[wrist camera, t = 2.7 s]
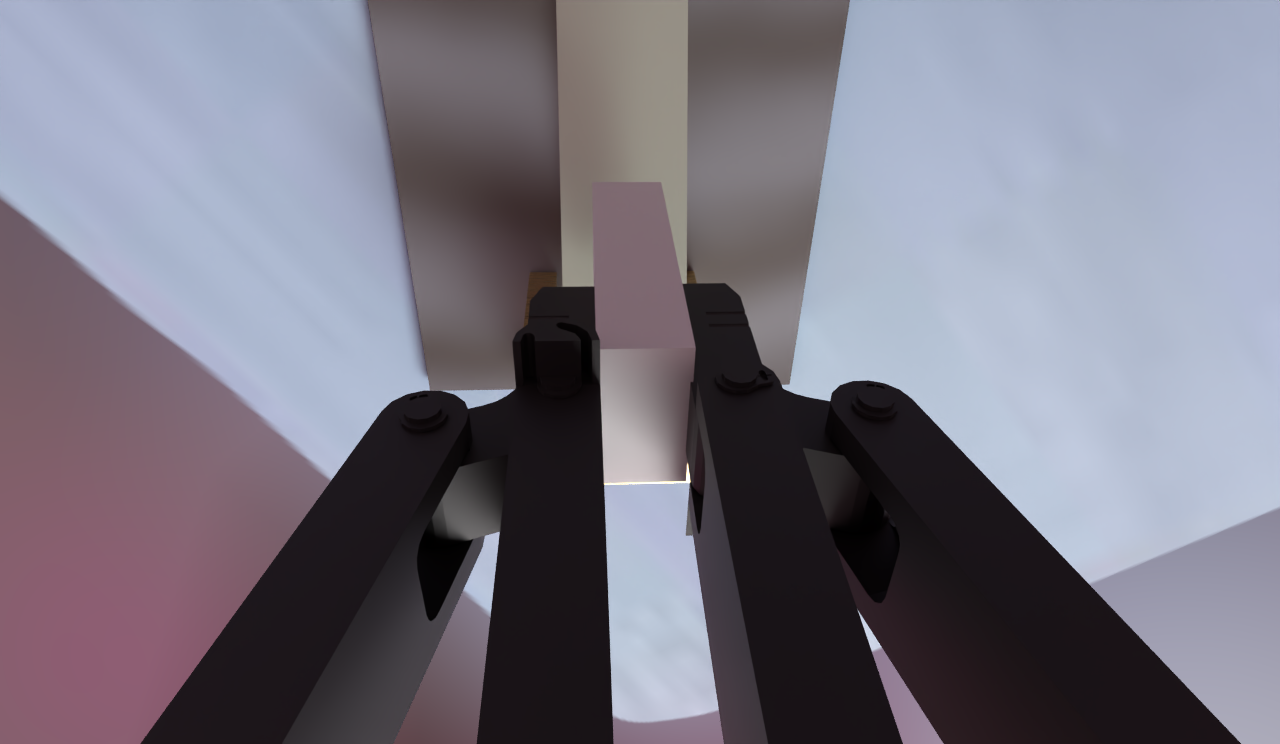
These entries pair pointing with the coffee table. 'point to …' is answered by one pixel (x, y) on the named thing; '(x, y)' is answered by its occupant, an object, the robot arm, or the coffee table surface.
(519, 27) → the tongs base
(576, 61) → the bar
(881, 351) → the coffee table surface
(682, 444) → the robot arm
